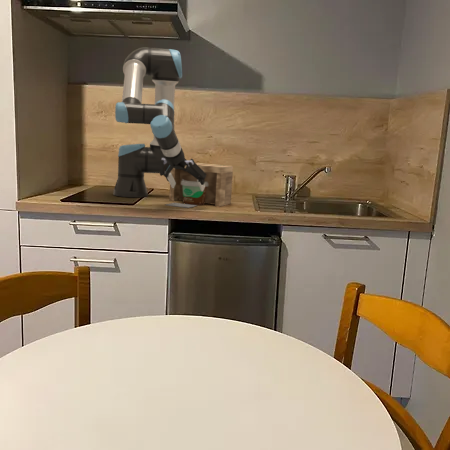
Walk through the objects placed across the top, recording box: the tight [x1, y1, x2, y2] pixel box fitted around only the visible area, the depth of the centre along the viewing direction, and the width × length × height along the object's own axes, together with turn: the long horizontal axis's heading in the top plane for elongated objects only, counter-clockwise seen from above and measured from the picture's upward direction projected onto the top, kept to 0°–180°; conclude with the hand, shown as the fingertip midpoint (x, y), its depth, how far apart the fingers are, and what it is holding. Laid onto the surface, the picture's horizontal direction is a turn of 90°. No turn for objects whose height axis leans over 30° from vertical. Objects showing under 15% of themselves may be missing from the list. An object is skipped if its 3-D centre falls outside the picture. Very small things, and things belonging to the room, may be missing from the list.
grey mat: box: [164, 202, 198, 209], centre depth 218 cm, size 11×8×1 cm
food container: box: [181, 179, 208, 206], centre depth 224 cm, size 12×6×10 cm, turn 68°
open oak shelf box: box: [169, 162, 234, 208], centre depth 231 cm, size 24×12×16 cm, turn 67°
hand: (188, 187), depth 219 cm, fingers open, 13 cm apart
